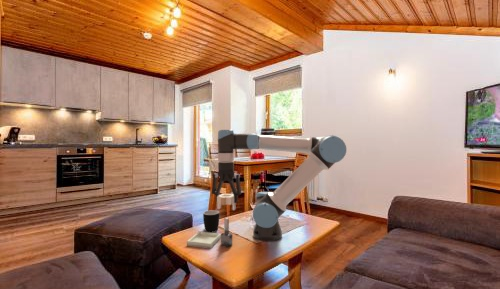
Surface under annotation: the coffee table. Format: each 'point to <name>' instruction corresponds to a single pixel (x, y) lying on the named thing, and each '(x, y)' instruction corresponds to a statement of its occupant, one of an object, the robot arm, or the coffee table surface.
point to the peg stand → (226, 234)
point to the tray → (204, 239)
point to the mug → (211, 220)
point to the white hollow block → (225, 199)
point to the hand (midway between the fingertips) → (226, 208)
